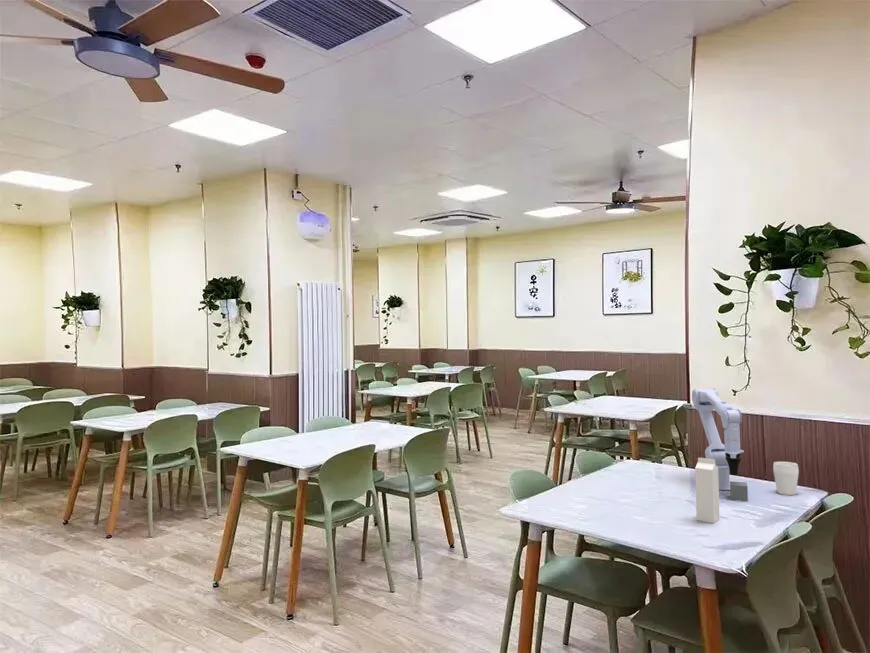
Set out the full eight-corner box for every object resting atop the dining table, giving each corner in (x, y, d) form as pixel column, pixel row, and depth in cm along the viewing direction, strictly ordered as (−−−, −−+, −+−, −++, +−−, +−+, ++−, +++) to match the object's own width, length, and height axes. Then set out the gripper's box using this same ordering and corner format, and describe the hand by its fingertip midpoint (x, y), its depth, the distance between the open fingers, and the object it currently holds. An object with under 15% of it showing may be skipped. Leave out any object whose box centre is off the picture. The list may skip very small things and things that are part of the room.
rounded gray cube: (730, 500, 240) (730, 484, 240) (730, 496, 245) (729, 481, 245) (747, 501, 237) (747, 486, 237) (746, 497, 243) (746, 482, 243)
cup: (792, 490, 252) (791, 461, 252) (803, 496, 243) (802, 466, 243) (769, 490, 253) (769, 461, 253) (780, 496, 244) (779, 466, 244)
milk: (702, 516, 221) (700, 455, 221) (719, 519, 217) (718, 458, 217) (696, 520, 217) (694, 458, 217) (714, 523, 212) (712, 460, 213)
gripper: (744, 442, 238) (745, 477, 237) (742, 437, 251) (743, 469, 250) (724, 441, 240) (725, 476, 240) (723, 436, 254) (724, 468, 253)
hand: (733, 472), depth 245 cm, fingers open, 7 cm apart
